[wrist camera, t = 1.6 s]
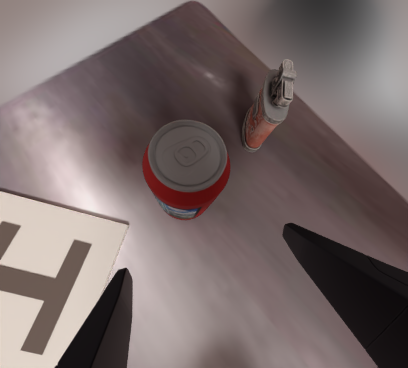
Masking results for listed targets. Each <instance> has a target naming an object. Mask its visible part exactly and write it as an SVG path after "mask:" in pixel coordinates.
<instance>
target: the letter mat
mask: <svg viewBox="0 0 408 368" xmlns="http://www.w3.org/2000/svg"><path fill="white" fill-rule="evenodd" d="M128 227H129V225H126V224H122V223H118V222H114V221H111V220H107V219H103V218H99V217H96V216H92V215H88V214H84V213H80V212H77V211H73V210H69V209H65V208H62V207H58V206H54V205H50V204H46V203H43V202H39V201H35V200H31V199H27V198H24V197H20V196H16V195H12V194H9V193H5V192H1V191H0V368H54V367H55V366H56V365H58V361H59V360H60V358H61V357H62V355H63V354H64V352H65V351H66V349H67V348H68V346H69V344H70V343H71V341H72V340H73V338H74V337H75V335H76V334H77V332H78V331H79V329H80V328H81V326H82V324H83V323H84V321H85V320H86V318H87V317H88V315H89V314H90V312H91V311H92V309H93V307H94V306H95V304H96V303H97V301H98V300H99V298H100V297H101V295H102V293H103V291H104V288H105V286H106V283H107V281H108V278H109V276H110V273H111V271H112V268H113V265H114V263H115V260H116V258H117V255H118V253H119V250H120V248H121V245H122V242H123V240H124V237H125V235H126V232H127V230H128Z"/></svg>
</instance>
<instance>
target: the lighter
mask: <svg viewBox="0 0 408 368" xmlns="http://www.w3.org/2000/svg"><path fill="white" fill-rule="evenodd" d="M296 76H297V72H296V71H293V63H292V61H290V60H287V59H285V60H283V62H282V64H281V65H280V67H279V70H270V71H269V72H268V74H267V76H266V78H265V81H264V83H263V86H262V88H261V90H260V92H259V94H258V96H257V98H256V99H255V101H254V103H253V105H252V107H251V108H250V109H249V110H248V112H247V114H246V117H245V119H244V123H243V128H242V143H243V147H244V149H245V150H247V151H249V152H256V151H257V150H258V149H259V148H260V146H261V144H262V142H263V141H264V140H265V139H266V138H267V136H268V135H269V134H270V133H271V132H272V131H273V129H274V128H275V127H276V126H277V125H278V124H280V123H282V121H283V120H284V119H285V118H286V116H287V112H288V109H289V103H290V102H291V101H292V99H293V84H294V81H295V78H296Z"/></svg>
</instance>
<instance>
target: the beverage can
mask: <svg viewBox="0 0 408 368" xmlns="http://www.w3.org/2000/svg"><path fill="white" fill-rule="evenodd" d="M142 166H143V174H144V177H145V180H146V182H147V184H148V186H149V187H150V189H151V191H152V192H153V194H154V196H155V197H156V199H157V201H158V202H159V204H160V205H161V207H162V208H163V209H164V211H165V212H166V213H167V214H169V215H170V216H172V217H173V218H176V219H180V220H189V219H193V218H196V217H198V216H199V215H201V214H202V213H203V212H204V211H205V210H206V209H207V208H208V207H209V206H210V204H211V203H212V202H213V201H214V200H215V199H216V197H217V196H218V195H219V194H220V192H221V191H222V190H223V189H224V187H225V185H226V183H227V181H228V179H229V175H230V160H229V156H228V153H227V150H226V146H225V143H224V141H223V140H222V138H221V137H220V135H219V134H218V133H217V132H216V131H215V130H214V129H213V128H211V127H210V126H208V125H206V124H204V123H202V122H199V121H195V120H177V121H173V122H170V123H168V124H166V125H164V126H163V127H161V128H160V129H159V130H158V131H157V132H156V133H155V134H154V136H153V137H152V139H151V141H150V143H149V145H148V146H147V148H146V150H145V153H144V157H143V164H142Z"/></svg>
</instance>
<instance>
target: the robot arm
mask: <svg viewBox="0 0 408 368" xmlns="http://www.w3.org/2000/svg"><path fill="white" fill-rule="evenodd" d="M283 238H284V240H285V241H286V243H287V244H288V246H289V248H290V249H291V251H292V252H293V254H294V256H295V257H296V259H297V260H298V262H299V263H300V264H301V266H302V267H303V268H304V270H305V271H306V272H307V274H308V275H309V276H310V278H311V279H312V280H313V282H314V283H315V284H316V286H317V287H318V288H319V289H320V291H321V292H322V293H323V295H324V296H325V297H326V299H327V300H328V301H329V303H330V304H331V305H332V307H333V308H334V309H335V311H336V312H337V313H338V315H339V316H340V317H341V318H342V320H343V321H344V322H345V324H346V325H347V326H348V328H349V329H350V330H351V332H352V333H353V334H354V336H355V337H356V338H357V340H358V341H359V342H360V344H361V345H362V346H363V348H364V349H365V350H366V352H367V353H368V354H369V356H370V357H371V358H372V360H373V361H374V362H375V364H376V365H377V366H378V367H379V368H408V272H406V271H403V270H401V269H398V268H396V267H393V266H391V265H388V264H386V263H384V262H381V261H379V260H376V259H374V258H372V257H370V256H366V255H365V254H363V253H360V252H358V251H356V250H353V249H351V248H349V247H346V246H344V245H342V244H340V243H337V242H335V241H333V240H330V239H328V238H326V237H323V236H321V235H319V234H317V233H314V232H312V231H310V230H307V229H305V228H303V227H300V226H298V225H296V224H294V223H288V224H285V225H284V229H283ZM131 324H132V277H131V275H130V273H129V270H128V269H127V268H123V269H120V270H118V271H117V272H116V274H115V275H114V277H113V278H112V280H111V281H110V283H109V284H108V286H107V287H106V289H105V291H104V292H103V294H102V295H101V297H100V298H99V300H98V301H97V303H96V304H95V306H94V307H93V309H92V311H91V312H90V314H89V315H88V317H87V318H86V320H85V321H84V323H83V324H82V326H81V328H80V329H79V331H78V332H77V334H76V335H75V337H74V338H73V340H72V341H71V343H70V344H69V346H68V348H67V349H66V351H65V352H64V354H63V355H62V357H61V358H60V360H59V361H58V365H56V366H55V367H54V368H127V360H128V351H129V342H130V333H131Z"/></svg>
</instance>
